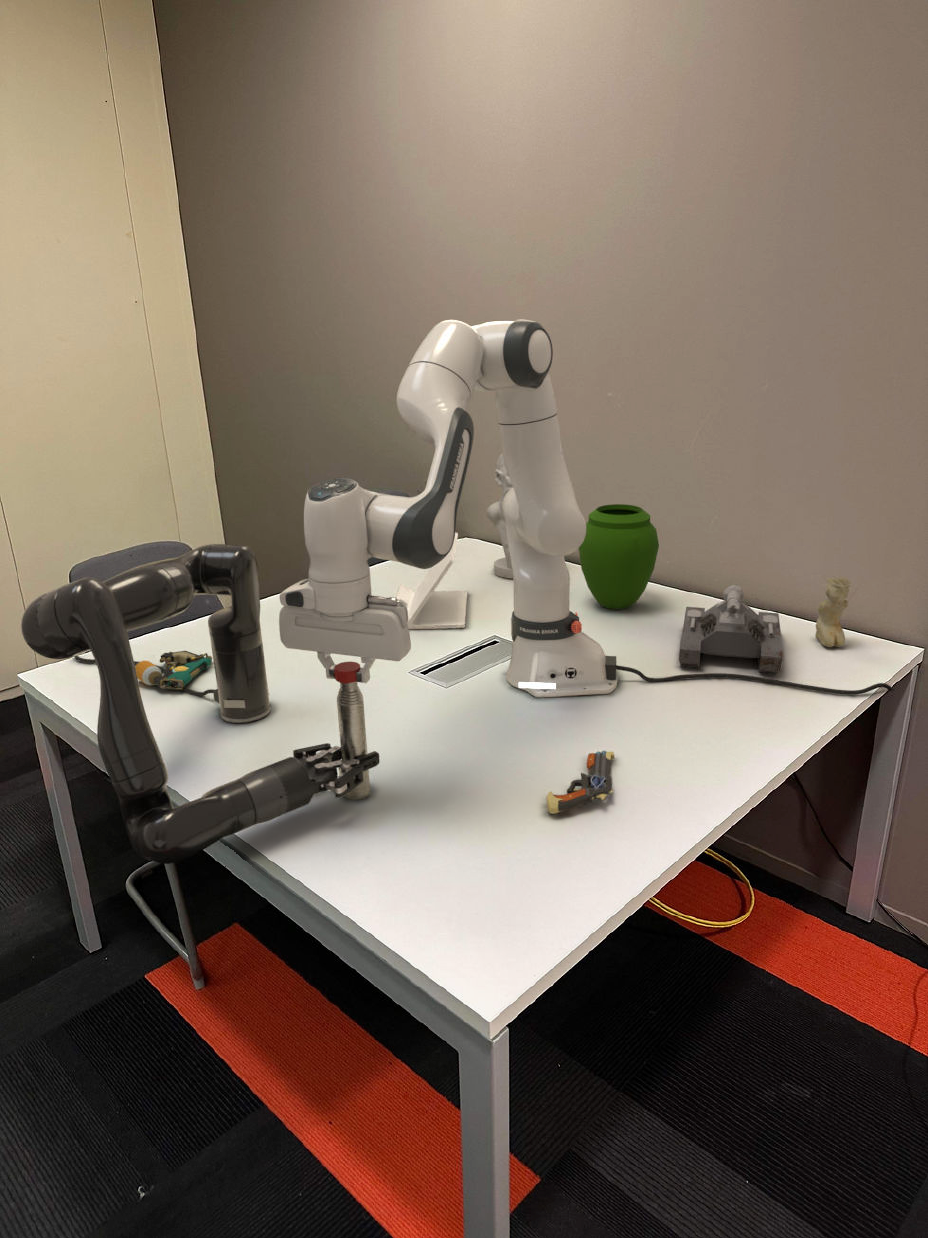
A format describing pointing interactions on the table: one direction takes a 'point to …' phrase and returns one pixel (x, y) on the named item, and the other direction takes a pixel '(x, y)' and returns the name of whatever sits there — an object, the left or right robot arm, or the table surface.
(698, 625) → the toy
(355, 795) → the bottle
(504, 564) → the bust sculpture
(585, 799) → the toy gun
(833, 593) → the sculpture
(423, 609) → the tablet stand
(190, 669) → the spray gun
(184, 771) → the table surface
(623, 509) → the vase
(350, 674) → the cap
